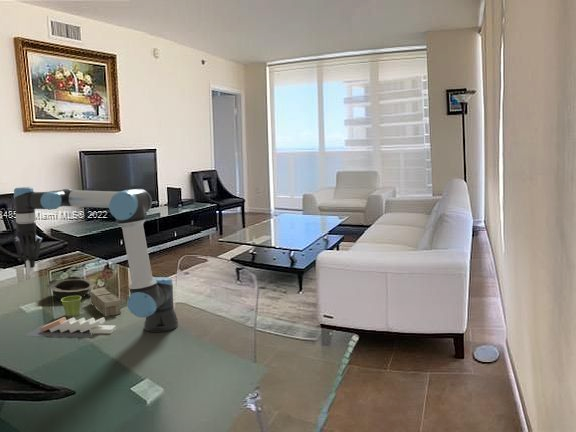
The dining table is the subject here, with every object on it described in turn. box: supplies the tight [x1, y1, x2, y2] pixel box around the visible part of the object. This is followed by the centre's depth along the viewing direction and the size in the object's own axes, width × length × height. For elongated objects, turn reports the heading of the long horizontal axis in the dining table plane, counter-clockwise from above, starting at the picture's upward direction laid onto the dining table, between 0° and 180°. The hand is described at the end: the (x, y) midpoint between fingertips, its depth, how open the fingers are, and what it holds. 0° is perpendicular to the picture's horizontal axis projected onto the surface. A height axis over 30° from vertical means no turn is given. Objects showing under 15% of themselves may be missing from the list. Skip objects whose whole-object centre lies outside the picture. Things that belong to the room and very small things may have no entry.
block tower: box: [89, 287, 122, 317], centre depth 244 cm, size 8×8×29 cm
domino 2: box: [49, 316, 77, 332], centre depth 213 cm, size 2×5×10 cm
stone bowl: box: [46, 276, 97, 300], centre depth 266 cm, size 25×25×9 cm
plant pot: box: [60, 296, 83, 318], centre depth 234 cm, size 9×9×9 cm
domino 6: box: [90, 324, 117, 334], centre depth 212 cm, size 2×5×10 cm
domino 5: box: [79, 316, 106, 333], centre depth 212 cm, size 2×5×10 cm
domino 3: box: [59, 317, 87, 333], centre depth 212 cm, size 2×5×10 cm
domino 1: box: [40, 316, 67, 332], centre depth 213 cm, size 2×5×10 cm
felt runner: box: [25, 324, 94, 338], centre depth 213 cm, size 30×14×1 cm, turn 87°
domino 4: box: [69, 317, 96, 333], centre depth 212 cm, size 2×5×10 cm
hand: (30, 274), depth 210 cm, fingers closed
